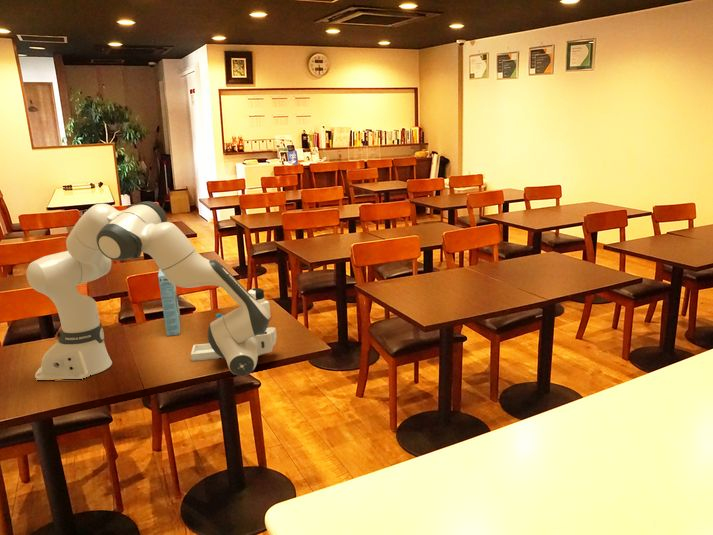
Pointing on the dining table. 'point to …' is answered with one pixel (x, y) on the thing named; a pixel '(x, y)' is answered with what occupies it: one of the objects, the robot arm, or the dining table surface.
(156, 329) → the dining table surface
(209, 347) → the tray
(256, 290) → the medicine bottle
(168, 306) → the gum box
